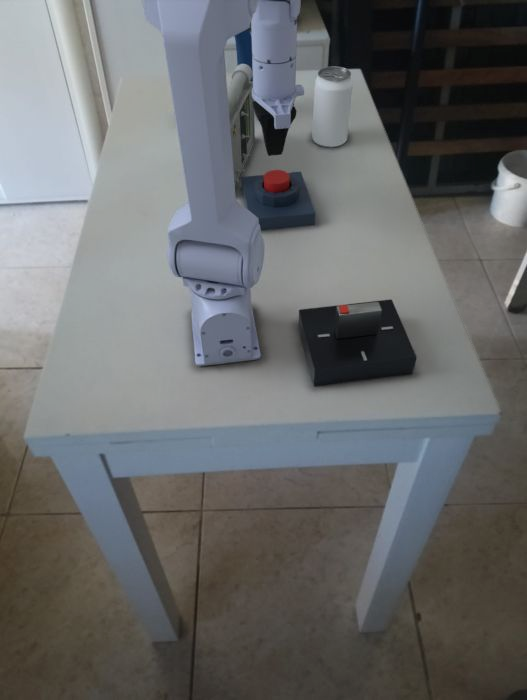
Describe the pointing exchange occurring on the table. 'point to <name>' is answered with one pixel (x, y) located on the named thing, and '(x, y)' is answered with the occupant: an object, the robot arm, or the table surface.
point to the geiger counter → (241, 117)
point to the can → (332, 106)
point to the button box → (278, 203)
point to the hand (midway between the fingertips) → (274, 152)
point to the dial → (357, 320)
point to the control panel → (355, 347)
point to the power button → (276, 181)
